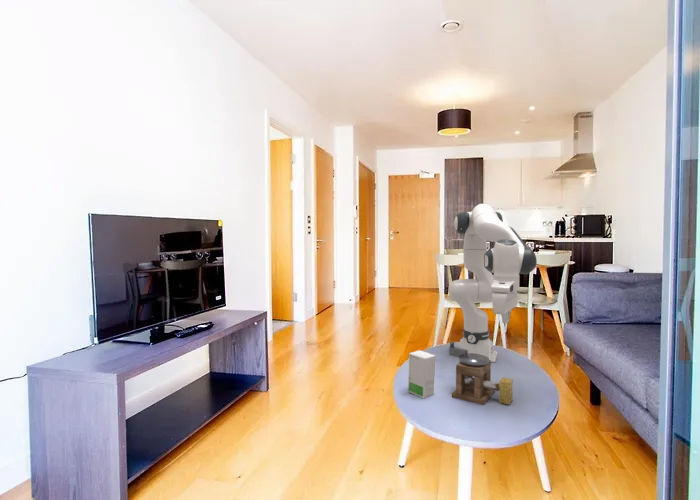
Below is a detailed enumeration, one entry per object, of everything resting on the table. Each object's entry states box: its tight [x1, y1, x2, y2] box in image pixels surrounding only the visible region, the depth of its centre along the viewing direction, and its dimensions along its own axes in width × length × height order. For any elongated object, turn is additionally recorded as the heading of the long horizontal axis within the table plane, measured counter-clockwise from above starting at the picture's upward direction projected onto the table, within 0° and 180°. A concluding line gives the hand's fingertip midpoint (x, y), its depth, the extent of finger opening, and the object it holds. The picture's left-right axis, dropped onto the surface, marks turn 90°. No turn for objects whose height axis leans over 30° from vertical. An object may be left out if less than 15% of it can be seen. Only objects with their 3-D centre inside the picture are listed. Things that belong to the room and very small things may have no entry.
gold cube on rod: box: [465, 376, 514, 406], centre depth 152 cm, size 4×20×8 cm, turn 54°
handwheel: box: [448, 341, 489, 367], centre depth 155 cm, size 16×11×6 cm
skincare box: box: [407, 349, 436, 399], centre depth 156 cm, size 8×7×16 cm
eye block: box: [451, 360, 495, 406], centre depth 154 cm, size 14×12×12 cm
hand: (505, 322), depth 146 cm, fingers closed
